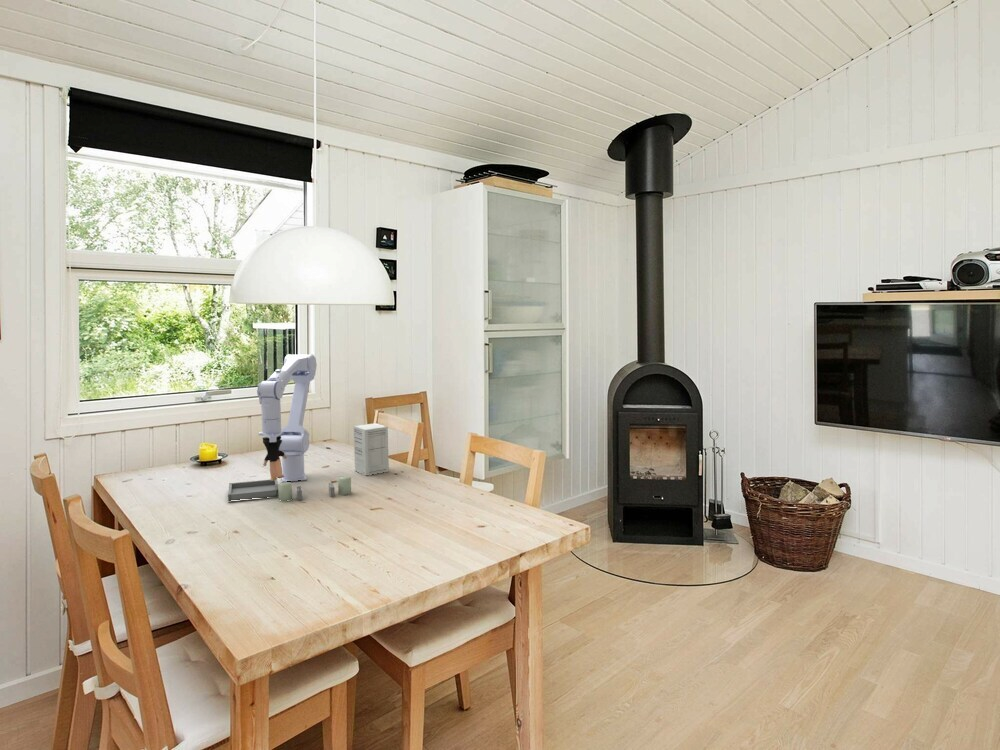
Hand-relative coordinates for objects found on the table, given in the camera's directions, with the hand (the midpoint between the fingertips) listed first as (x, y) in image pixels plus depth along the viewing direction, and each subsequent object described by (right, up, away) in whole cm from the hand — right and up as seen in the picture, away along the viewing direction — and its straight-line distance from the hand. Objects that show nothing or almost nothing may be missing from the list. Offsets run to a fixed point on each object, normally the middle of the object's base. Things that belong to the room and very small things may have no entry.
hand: (272, 460), depth 198 cm
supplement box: (+26, -8, +27) cm, 38 cm away
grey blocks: (+15, -11, -4) cm, 19 cm away
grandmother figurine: (+1, -6, +1) cm, 6 cm away
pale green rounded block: (+7, -11, -7) cm, 15 cm away
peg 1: (+23, -11, 0) cm, 26 cm away
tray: (-6, -11, -1) cm, 12 cm away
